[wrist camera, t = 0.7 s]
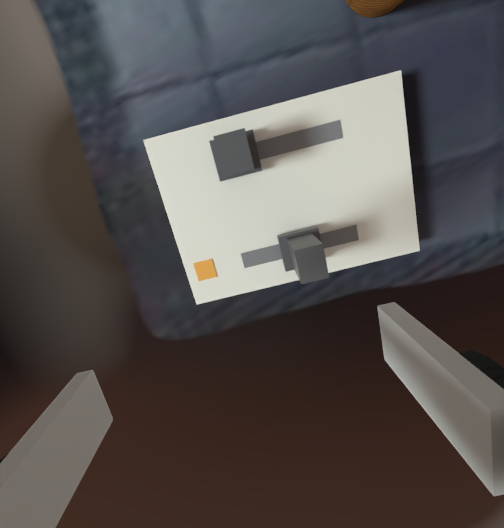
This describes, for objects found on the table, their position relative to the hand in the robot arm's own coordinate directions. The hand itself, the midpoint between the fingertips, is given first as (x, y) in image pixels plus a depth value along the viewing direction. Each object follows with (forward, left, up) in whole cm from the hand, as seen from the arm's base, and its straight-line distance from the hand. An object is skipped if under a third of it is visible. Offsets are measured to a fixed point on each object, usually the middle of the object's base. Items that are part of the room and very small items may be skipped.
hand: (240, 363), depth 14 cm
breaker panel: (-6, -4, -22) cm, 23 cm away
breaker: (-2, -9, -19) cm, 21 cm away
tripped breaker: (-6, +1, -19) cm, 20 cm away
